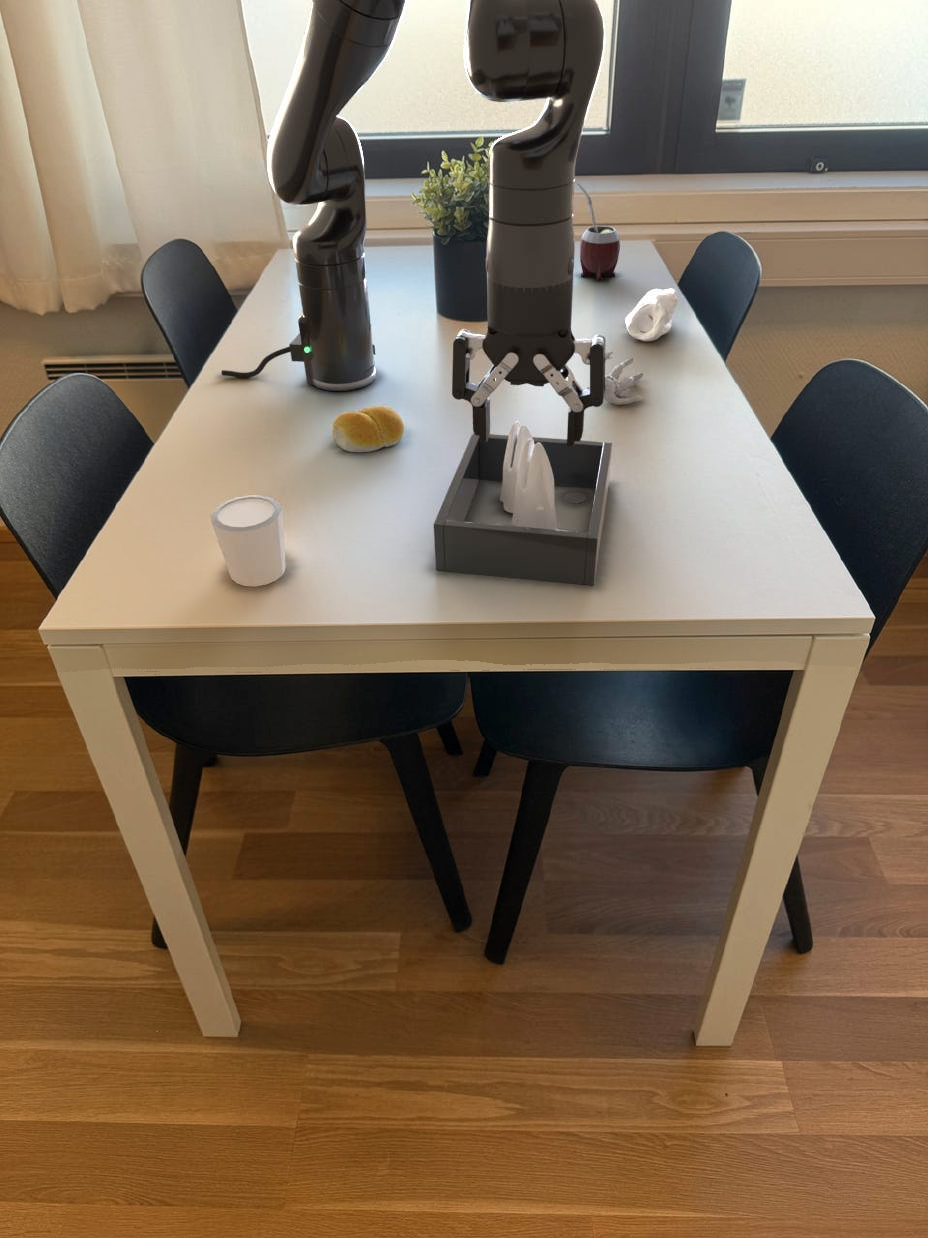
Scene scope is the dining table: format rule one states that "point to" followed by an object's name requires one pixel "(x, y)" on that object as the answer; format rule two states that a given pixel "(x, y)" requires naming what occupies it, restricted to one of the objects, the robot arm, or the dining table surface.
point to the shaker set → (528, 481)
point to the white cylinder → (251, 539)
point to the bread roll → (368, 429)
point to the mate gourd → (598, 248)
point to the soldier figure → (614, 387)
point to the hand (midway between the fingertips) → (527, 440)
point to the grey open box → (523, 546)
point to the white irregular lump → (652, 315)
